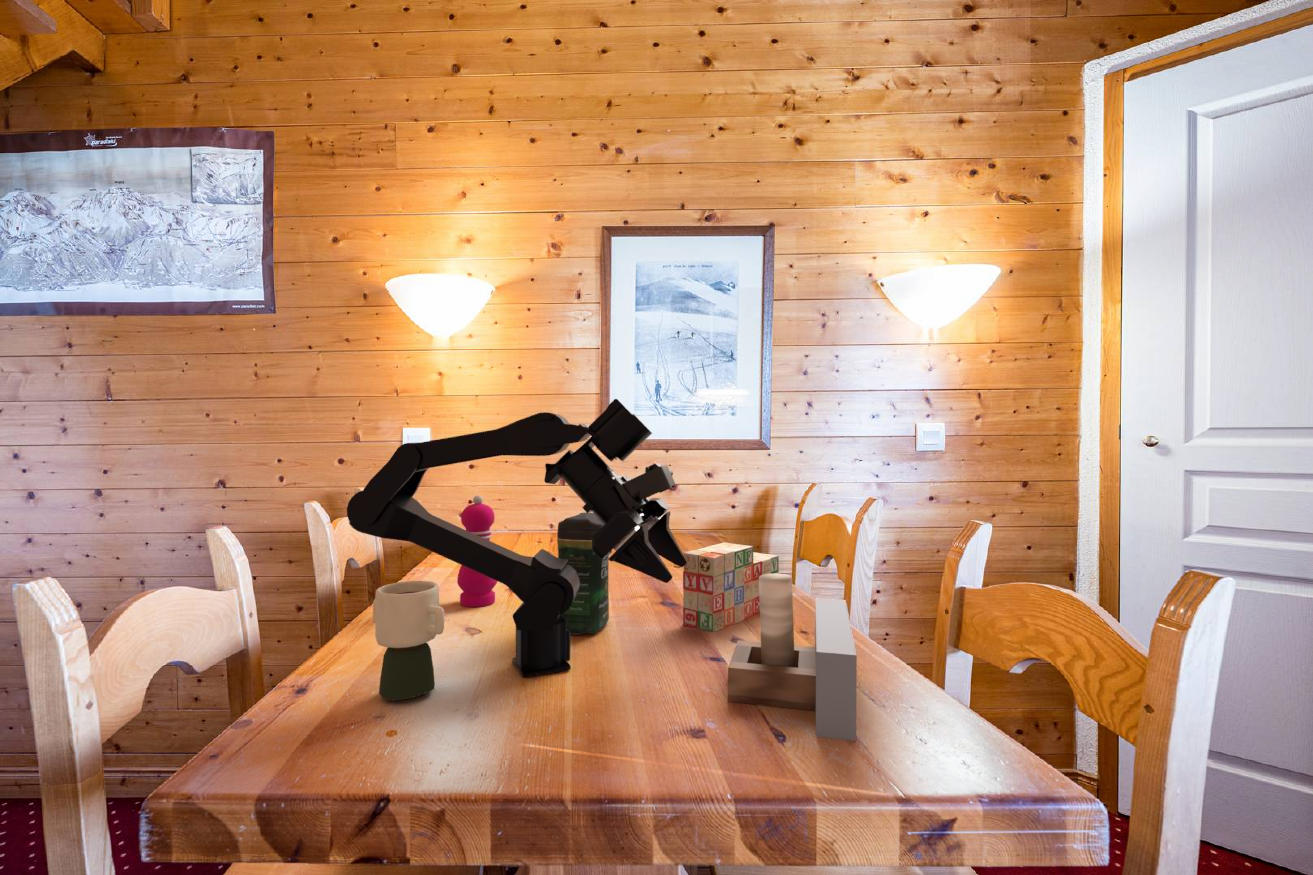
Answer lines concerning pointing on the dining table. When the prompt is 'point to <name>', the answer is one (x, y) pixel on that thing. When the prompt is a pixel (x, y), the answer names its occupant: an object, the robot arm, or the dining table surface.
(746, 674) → the socket block
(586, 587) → the coffee jar
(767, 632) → the dowel
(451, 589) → the dining table surface
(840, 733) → the board
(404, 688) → the character mug
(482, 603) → the pepper mill
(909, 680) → the dining table surface
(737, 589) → the stack of blocks
